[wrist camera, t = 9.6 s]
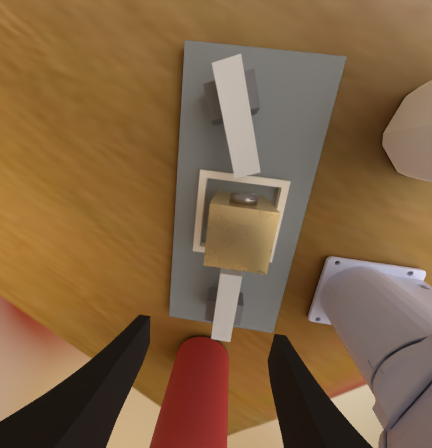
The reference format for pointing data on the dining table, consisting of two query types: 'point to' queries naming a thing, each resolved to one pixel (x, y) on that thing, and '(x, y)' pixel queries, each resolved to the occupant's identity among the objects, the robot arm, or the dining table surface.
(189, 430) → the beer can
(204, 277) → the shaft board
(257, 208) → the block
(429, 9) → the dining table surface
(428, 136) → the cup
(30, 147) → the dining table surface
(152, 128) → the dining table surface
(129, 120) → the dining table surface
